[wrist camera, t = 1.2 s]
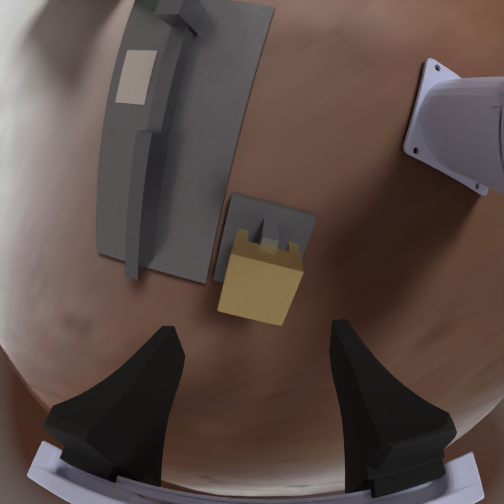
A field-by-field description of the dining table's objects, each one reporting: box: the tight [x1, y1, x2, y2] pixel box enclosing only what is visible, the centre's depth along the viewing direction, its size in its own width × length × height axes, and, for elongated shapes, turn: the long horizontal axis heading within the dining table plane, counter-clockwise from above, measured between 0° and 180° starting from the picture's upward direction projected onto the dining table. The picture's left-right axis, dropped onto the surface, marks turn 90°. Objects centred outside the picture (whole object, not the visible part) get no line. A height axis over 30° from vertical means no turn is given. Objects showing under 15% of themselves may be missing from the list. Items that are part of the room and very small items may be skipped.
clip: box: [217, 228, 304, 326], centre depth 17 cm, size 4×4×4 cm
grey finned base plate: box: [213, 192, 317, 283], centre depth 19 cm, size 6×7×4 cm
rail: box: [96, 0, 275, 284], centre depth 15 cm, size 10×21×5 cm, turn 166°
